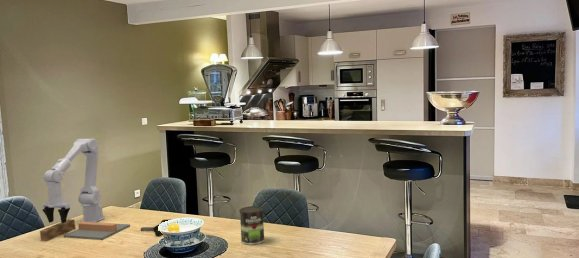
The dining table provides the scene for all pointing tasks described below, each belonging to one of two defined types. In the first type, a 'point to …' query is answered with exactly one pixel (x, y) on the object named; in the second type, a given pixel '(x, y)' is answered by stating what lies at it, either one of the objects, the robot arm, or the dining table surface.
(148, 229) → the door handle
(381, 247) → the dining table surface
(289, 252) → the dining table surface
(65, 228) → the walnut beam
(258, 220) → the coffee can
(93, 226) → the stand
